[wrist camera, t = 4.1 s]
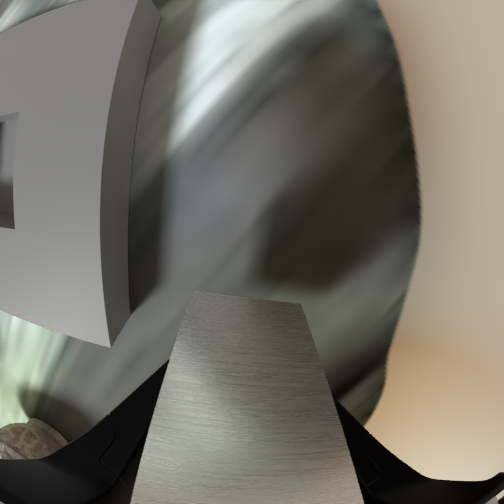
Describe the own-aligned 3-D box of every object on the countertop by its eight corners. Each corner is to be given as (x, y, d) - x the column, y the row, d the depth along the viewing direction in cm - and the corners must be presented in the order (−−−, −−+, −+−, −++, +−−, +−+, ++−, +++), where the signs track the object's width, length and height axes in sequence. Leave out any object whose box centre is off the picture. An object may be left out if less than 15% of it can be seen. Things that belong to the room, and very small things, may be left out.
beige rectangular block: (300, 303, 10) (367, 516, 3) (278, 378, 12) (301, 547, 4) (193, 290, 10) (128, 513, 2) (189, 368, 11) (157, 541, 4)
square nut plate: (161, 15, 9) (143, -13, 6) (130, 315, 14) (110, 347, 11) (-23, 67, 8) (-49, 64, 5) (-29, 268, 13) (-51, 283, 10)
